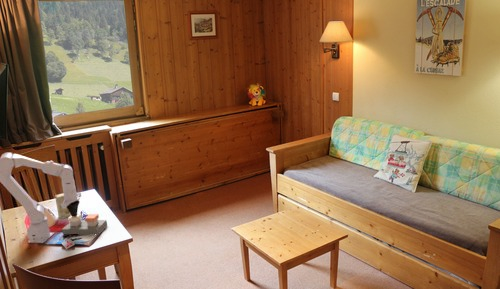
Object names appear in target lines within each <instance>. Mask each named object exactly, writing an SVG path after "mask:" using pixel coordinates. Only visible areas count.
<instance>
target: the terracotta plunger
mask: <svg viewBox="0 0 500 289" xmlns="http://www.w3.org/2000/svg"><path fill="white" fill-rule="evenodd" d="M99 218H100V216H99V214H98V213H89V214H87V216H86V217H84V220H85V222H87V224H88V227H95V226H96V225H97V224H98V220H99Z"/></svg>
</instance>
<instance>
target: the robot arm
mask: <svg viewBox="0 0 500 289" xmlns="http://www.w3.org/2000/svg"><path fill="white" fill-rule="evenodd" d="M23 166H25V167H28V168H33V169H38V170H41V171H42V172H43V173H44V174H47V175H51V176H54V177H59V178H60V179H61V187H62V192H63V193H64V198H65V200H64V202H63V203H62V204H61V207H62V208H67V209H68V210H69V212H70V214H71V216H72V217H75V216H77V214H78V209H79V205H80V199H81V197H82V193H81V192H77V188H76V181H75V179H74V170H73V167H72V166H71V165H70V164H64V163H57V162H54V160H50V161H49V160H47V161H44V162H42V161H40V160H36V159H34V158H30V157H27V156H24V155H21V154H19V153H13V152H4V153H2V154H1V156H0V183H1V184H2V185H3V187H5V189H6V190H7V191H8V193H10V194H11V195H12V197H13V198H14V199H15V200H16V201H17V202H18V203H19V204H20V205H21V206H22V208H24V211H25V213H26V214H27V216H28V218H29V221H30V225H29V226H28V228H27V229H26V230H27V231H26V233H27V236H28V241H27V243H29V244H30V243H31V244H34V243H35V244H36V243H37V244H42V243H45V242H46V241H48V240H49V239H50V238H51V237H52V236H53V235H54V234H55V232H51V230H50V226H49V222H48V217H47V216H46V215H45V212H46V208H45V206H44V205H43V204H41V203H38V201H36V200H35V199H33V198H32V197H31V196H30V195H29V194H28V192H27V191H26V190H25V189H24V188H23V187H22V186H21V185H20V184H19V183H18V181H17V180H16V179H15V178H14V177H13V176H12V170H13V168H15V169H16V168H19V167H23Z"/></svg>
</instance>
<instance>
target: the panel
mask: <svg viewBox="0 0 500 289" xmlns="http://www.w3.org/2000/svg"><path fill="white" fill-rule="evenodd" d="M107 226H108V222H107V219H98V224H97V225H96V226H95V227H88V224H87V222H85V219H81V224H80V225H79V226H78V227H71V225H70V222H69V223H68V224H66V225H65V226H64V227H63V228H62V229H61V232H62V235H63V234H78V235H77V236H98V235H99V234H100V233H102V232H103V231H104V230H105V229H106V228H107ZM95 234H96V235H95Z"/></svg>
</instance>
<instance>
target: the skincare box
mask: <svg viewBox="0 0 500 289" xmlns="http://www.w3.org/2000/svg"><path fill="white" fill-rule="evenodd" d="M54 197H55V204H56V210H57V216H58V217H59V218H60V219H64V218H68V217H70V216H71V214H70V212H69V210H68V209H67V208H62V207H61V204H62V203H63V202H64V200H65V198H64V193H59V194H55V195H54Z"/></svg>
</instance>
